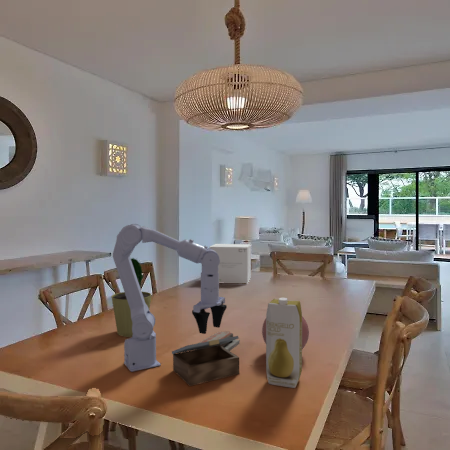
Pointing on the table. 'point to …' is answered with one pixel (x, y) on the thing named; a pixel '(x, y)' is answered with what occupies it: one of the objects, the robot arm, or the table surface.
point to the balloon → (304, 332)
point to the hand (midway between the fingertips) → (209, 330)
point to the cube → (233, 262)
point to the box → (205, 364)
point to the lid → (204, 344)
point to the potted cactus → (127, 305)
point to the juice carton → (284, 342)
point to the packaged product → (223, 335)
